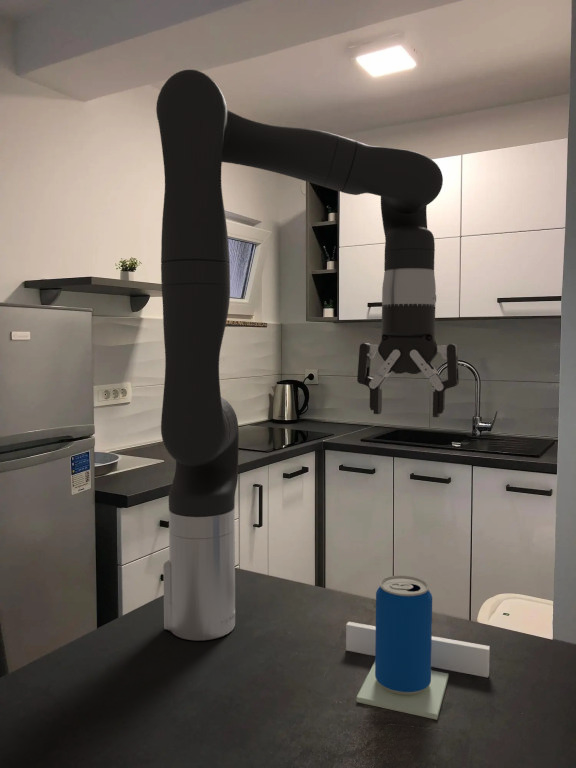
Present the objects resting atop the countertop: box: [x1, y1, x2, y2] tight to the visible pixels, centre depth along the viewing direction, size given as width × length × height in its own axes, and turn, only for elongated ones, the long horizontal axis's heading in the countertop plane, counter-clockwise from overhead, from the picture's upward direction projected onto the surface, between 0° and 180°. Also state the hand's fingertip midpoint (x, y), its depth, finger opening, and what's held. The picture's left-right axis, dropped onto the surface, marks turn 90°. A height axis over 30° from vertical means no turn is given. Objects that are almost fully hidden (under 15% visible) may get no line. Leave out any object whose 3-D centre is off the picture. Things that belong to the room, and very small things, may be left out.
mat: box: [356, 661, 449, 720], centre depth 74 cm, size 9×9×1 cm
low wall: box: [345, 621, 491, 678], centre depth 81 cm, size 18×1×4 cm, turn 68°
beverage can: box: [374, 575, 433, 695], centre depth 74 cm, size 6×6×12 cm
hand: (406, 415), depth 92 cm, fingers open, 8 cm apart
